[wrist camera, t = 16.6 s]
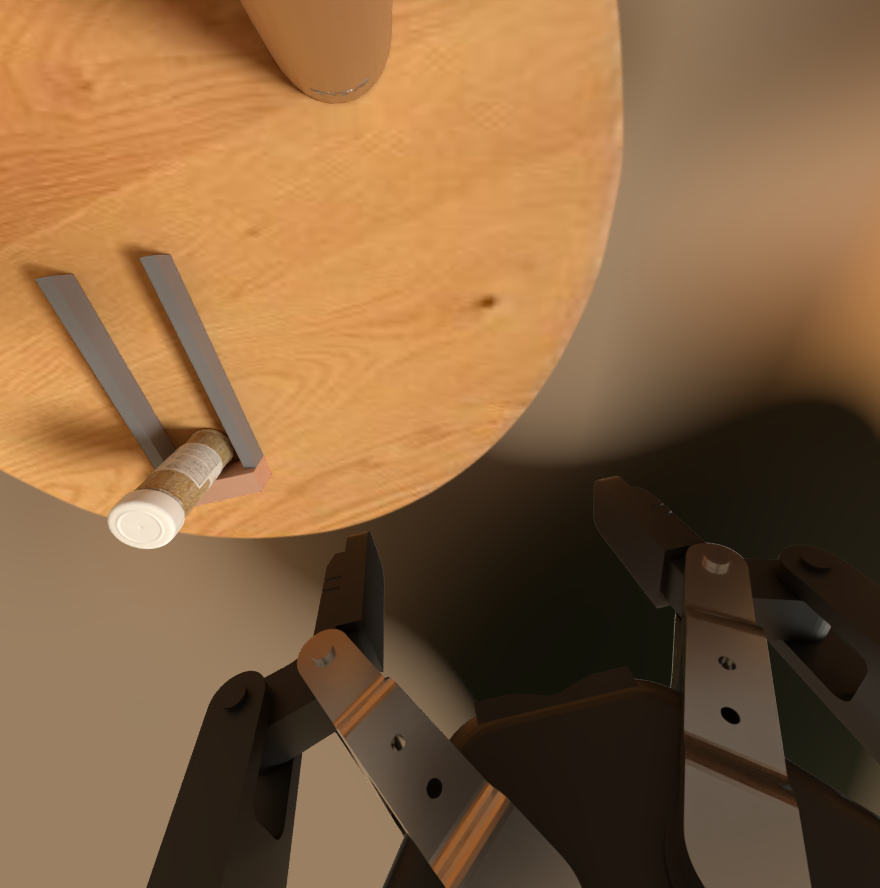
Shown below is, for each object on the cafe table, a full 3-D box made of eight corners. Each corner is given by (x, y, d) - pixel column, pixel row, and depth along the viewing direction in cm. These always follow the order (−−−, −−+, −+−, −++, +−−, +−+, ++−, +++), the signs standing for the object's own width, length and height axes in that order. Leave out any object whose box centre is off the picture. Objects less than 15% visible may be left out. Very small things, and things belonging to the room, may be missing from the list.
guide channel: (59, 276, 32) (23, 279, 29) (170, 254, 32) (147, 255, 29) (188, 492, 42) (173, 511, 39) (271, 473, 42) (262, 491, 39)
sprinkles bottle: (213, 472, 41) (143, 560, 30) (178, 441, 39) (89, 523, 28) (245, 450, 41) (187, 532, 29) (212, 418, 39) (134, 492, 27)
